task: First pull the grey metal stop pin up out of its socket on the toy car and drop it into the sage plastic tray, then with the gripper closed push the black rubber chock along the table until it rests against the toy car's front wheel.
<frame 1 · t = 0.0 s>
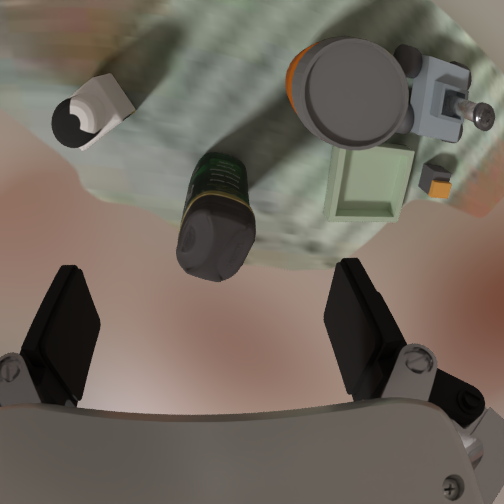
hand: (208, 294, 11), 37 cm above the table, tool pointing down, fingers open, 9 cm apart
toy car: (422, 92, 41), on the table
coffee jar: (215, 181, 48), on the table
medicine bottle: (105, 105, 39), on the table
reusable coffee cup: (316, 80, 40), on the table
tray: (365, 178, 49), on the table
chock: (429, 175, 50), on the table
pin: (445, 101, 36), point 6 cm above the table, touching toy car
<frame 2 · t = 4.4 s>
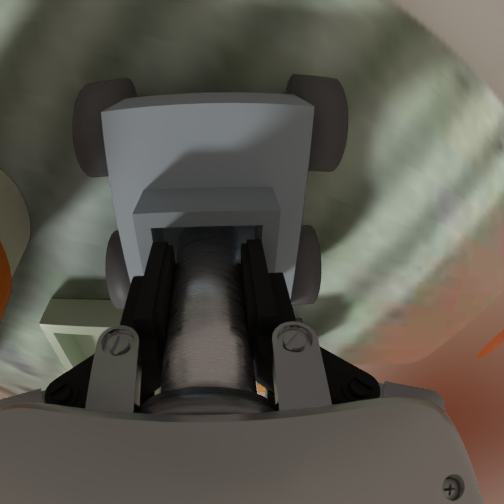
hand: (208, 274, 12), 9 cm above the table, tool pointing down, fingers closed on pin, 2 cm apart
toy car: (211, 183, 19), on the table
tray: (134, 349, 28), on the table
pin: (209, 242, 14), point 6 cm above the table, touching gripper, toy car
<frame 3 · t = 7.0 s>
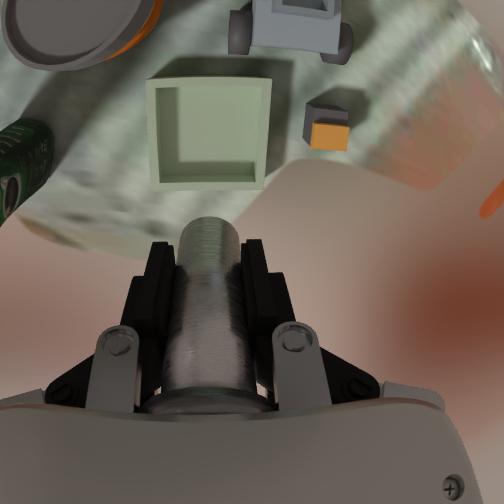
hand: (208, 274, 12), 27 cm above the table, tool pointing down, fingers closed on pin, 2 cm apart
toy car: (286, 1, 27), on the table
coffee jar: (31, 151, 33), on the table
reusable coffee cup: (123, 12, 25), on the table
tray: (208, 129, 35), on the table
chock: (320, 121, 36), on the table
pin: (209, 242, 14), point 25 cm above the table, touching gripper
when the fingers open (5 cm above the table, at t = 10.0 s): pin drops 2 cm, resting on tray.
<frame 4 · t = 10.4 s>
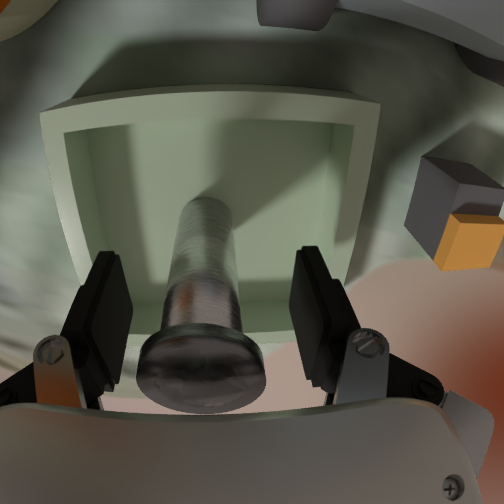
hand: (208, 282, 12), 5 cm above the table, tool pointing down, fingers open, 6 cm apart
tray: (210, 215, 16), on the table
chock: (438, 193, 17), on the table
pin: (205, 221, 16), point 1 cm above the table, touching tray
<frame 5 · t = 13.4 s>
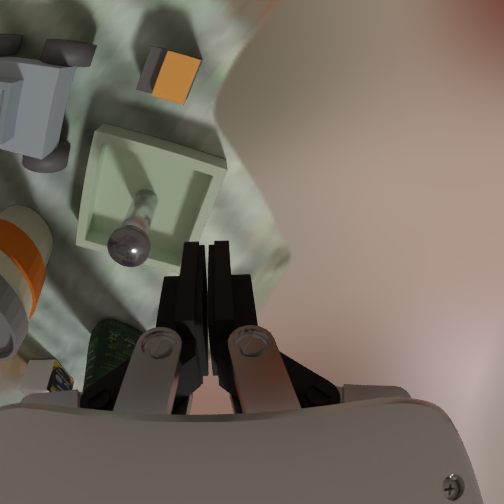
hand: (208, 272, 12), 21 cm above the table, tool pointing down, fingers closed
toy car: (31, 92, 24), on the table
coffee jar: (123, 337, 45), on the table
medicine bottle: (52, 369, 49), on the table
reusable coffee cup: (24, 235, 33), on the table
tray: (147, 196, 32), on the table
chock: (172, 72, 26), on the table
pin: (145, 200, 32), point 1 cm above the table, touching tray
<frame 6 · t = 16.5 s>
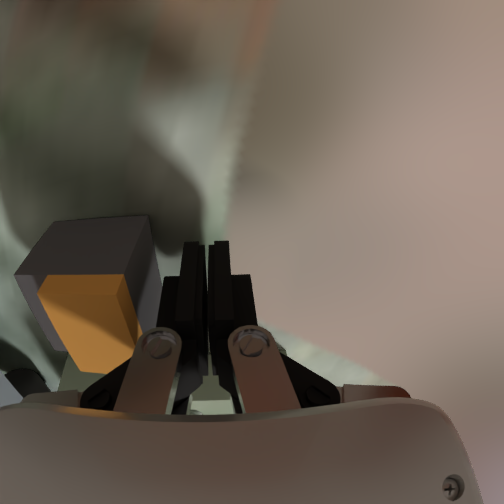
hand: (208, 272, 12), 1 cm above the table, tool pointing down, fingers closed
tray: (185, 407, 21), on the table
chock: (108, 259, 13), on the table, touching gripper
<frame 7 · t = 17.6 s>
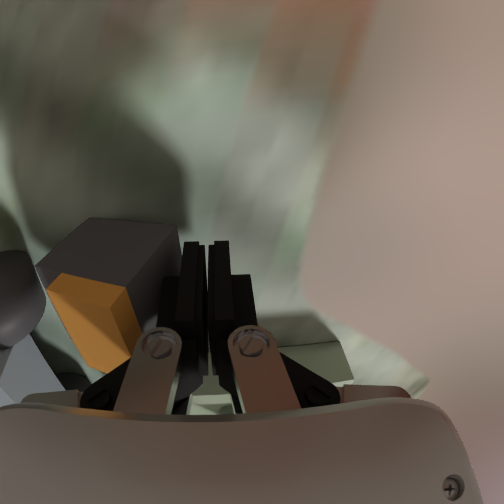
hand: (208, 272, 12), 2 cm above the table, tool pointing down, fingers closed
tray: (235, 403, 22), on the table
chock: (138, 262, 13), point 1 cm above the table, tilted 21°, touching gripper
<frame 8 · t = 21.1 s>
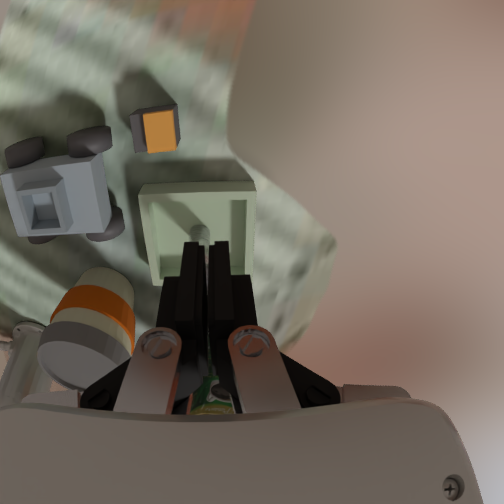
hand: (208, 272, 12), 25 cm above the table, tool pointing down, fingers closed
toy car: (70, 178, 34), on the table
coffee jar: (215, 347, 54), on the table
reusable coffee cup: (106, 289, 45), on the table
tray: (200, 229, 40), on the table
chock: (159, 123, 32), on the table
pin: (199, 233, 40), point 1 cm above the table, touching tray
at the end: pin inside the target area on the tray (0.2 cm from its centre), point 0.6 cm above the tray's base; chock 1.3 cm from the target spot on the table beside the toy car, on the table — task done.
